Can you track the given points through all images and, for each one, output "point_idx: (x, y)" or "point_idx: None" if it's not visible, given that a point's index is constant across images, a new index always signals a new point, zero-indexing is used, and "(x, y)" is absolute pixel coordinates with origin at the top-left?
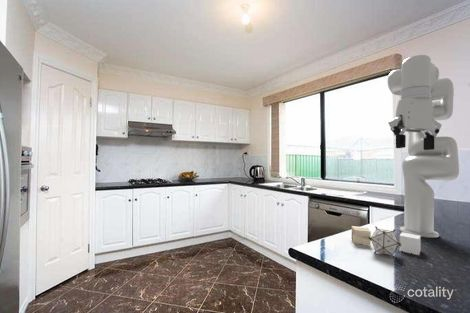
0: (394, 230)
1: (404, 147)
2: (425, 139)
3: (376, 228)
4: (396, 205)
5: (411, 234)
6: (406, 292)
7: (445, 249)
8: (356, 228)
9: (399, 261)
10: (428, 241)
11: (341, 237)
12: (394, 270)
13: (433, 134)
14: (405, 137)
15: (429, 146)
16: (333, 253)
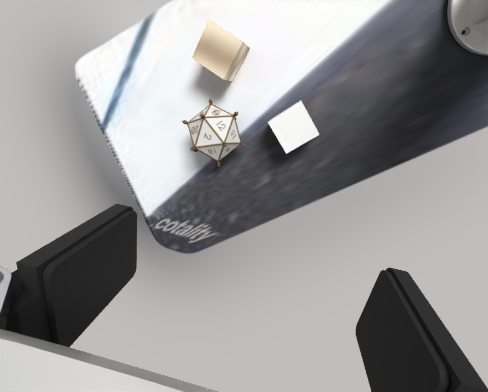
0: (224, 145)
1: (132, 267)
2: (418, 375)
3: (201, 117)
4: None
5: (306, 122)
6: (158, 222)
7: (390, 135)
8: (206, 46)
9: (223, 159)
10: (425, 78)
11: (205, 5)
12: (187, 181)
13: None
14: (80, 333)
15: (369, 332)
16: (133, 104)
